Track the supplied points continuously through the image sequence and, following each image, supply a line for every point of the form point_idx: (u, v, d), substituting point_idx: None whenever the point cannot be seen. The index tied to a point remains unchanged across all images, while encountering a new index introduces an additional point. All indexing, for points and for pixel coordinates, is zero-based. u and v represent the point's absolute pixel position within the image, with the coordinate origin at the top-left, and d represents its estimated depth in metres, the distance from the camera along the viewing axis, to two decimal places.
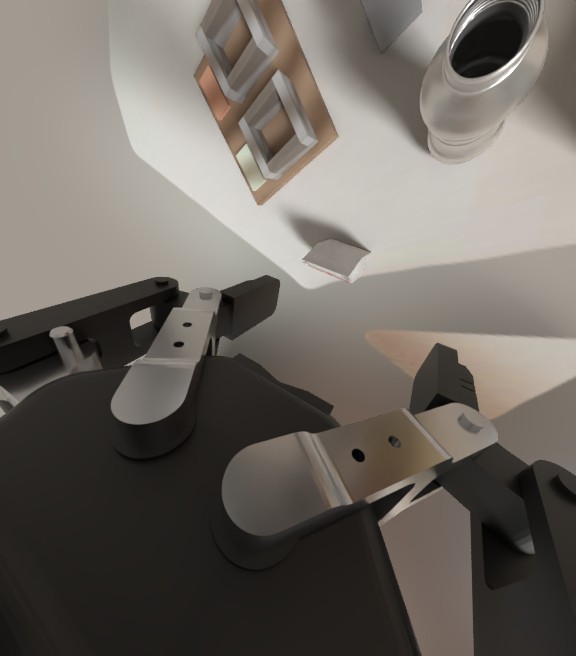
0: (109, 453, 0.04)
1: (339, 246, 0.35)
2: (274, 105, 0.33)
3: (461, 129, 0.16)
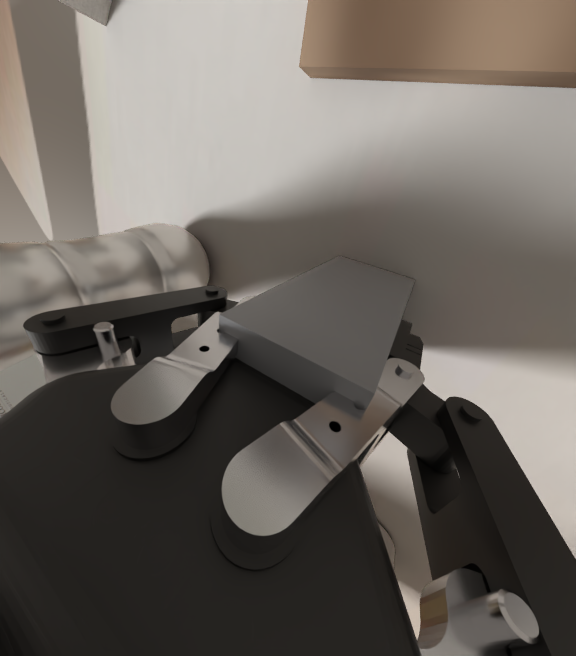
0: (109, 453, 0.04)
1: None
2: None
3: None
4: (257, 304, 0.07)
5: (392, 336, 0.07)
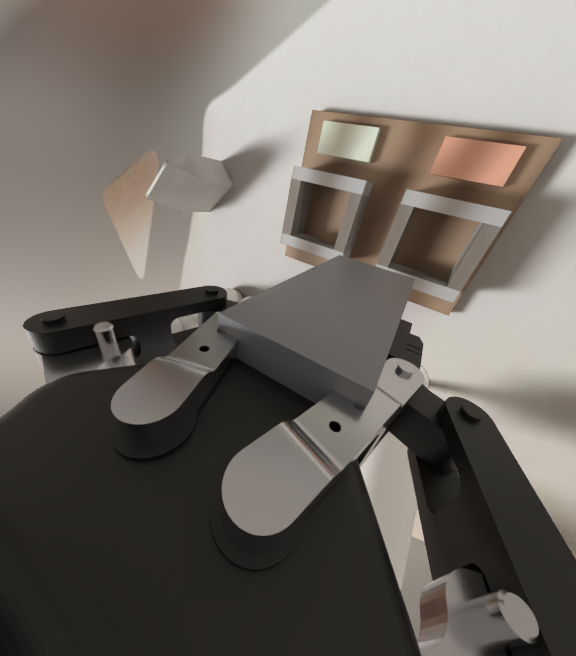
0: (109, 453, 0.04)
1: (206, 194, 0.34)
2: None
3: None
4: (256, 303, 0.07)
5: (392, 335, 0.07)
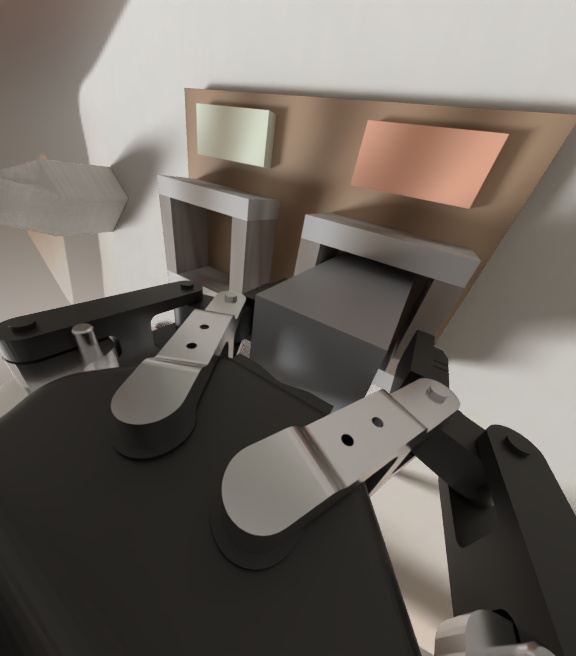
0: (109, 453, 0.04)
1: (89, 213, 0.26)
2: None
3: None
4: (284, 288, 0.09)
5: (399, 313, 0.08)
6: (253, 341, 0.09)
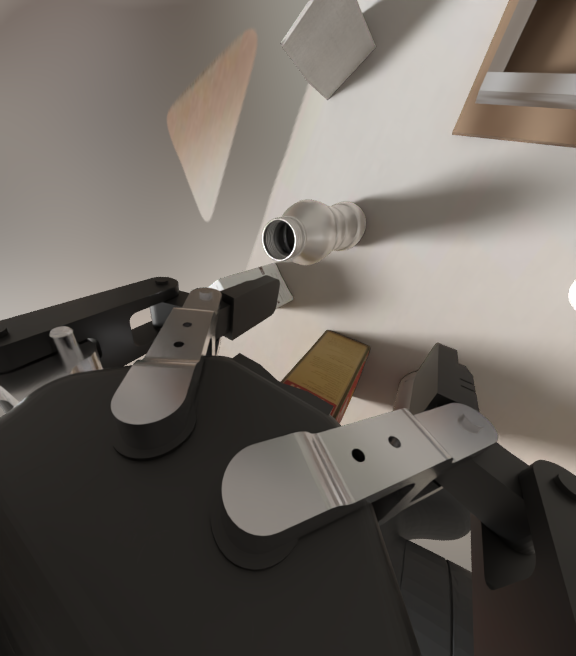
0: (109, 453, 0.04)
1: (346, 55, 0.26)
2: None
3: (284, 213, 0.24)
4: None
5: None
6: None
